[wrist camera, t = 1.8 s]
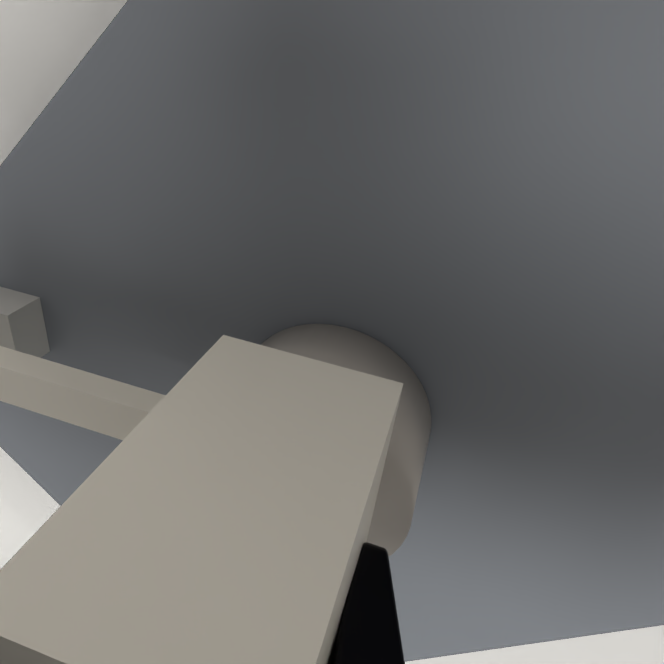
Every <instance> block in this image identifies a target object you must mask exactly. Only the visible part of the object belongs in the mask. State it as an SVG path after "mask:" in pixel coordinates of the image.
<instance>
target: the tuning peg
mask: <svg viewBox="0 0 664 664" xmlns="http://www.w3.org/2000/svg"><path fill="white" fill-rule="evenodd" d="M0 401H2V402H5V403H8V404H11V405H15V406H18V407H21V408H24V409H27V410H30V411H33V412H36V413H39V414H42V415H46V416H49V417H52V418H55V419H58V420H61V421H64V422H67V423H70V424H74V425H77V426H80V427H83V428H86V429H89V430H92V431H95V432H98V433H101V434H105V435H108V436H111V437H114V438H117V439H120V440H123V441H122V442H121V443H120V444H119V445H118V446H117V447H116V448H115V449H114V451H113V452H112V453H111V454H110V455H109V456H108V457H107V458H106V459H105V460H104V461H103V462H102V463H101V464H100V465H99V466H98V467H97V468H96V469H95V471H94V472H93V473H92V474H91V475H90V476H89V477H88V478H87V479H86V480H85V481H84V482H83V483H82V484H81V485H80V486H79V487H78V488H77V490H76V491H75V492H74V493H73V494H72V495H71V496H70V497H69V498H68V499H67V500H66V501H65V502H64V503H63V504H62V505H61V506H60V507H59V508H58V510H57V511H56V512H55V513H54V514H53V515H52V516H51V517H50V518H49V519H48V520H47V521H46V522H45V523H44V524H43V525H42V526H41V527H40V529H39V530H38V531H37V532H36V533H35V534H34V535H33V536H32V537H31V538H30V539H29V540H28V541H27V542H26V543H25V544H24V545H23V546H22V547H21V549H20V550H19V551H18V552H17V553H16V554H15V555H14V556H13V557H12V558H11V559H10V560H9V561H8V562H7V563H6V564H5V565H4V566H3V568H2V569H1V570H0V664H331V660H332V656H333V651H334V647H335V642H336V638H337V633H338V629H339V624H340V620H341V615H342V611H343V608H344V605H345V601H346V598H347V595H348V591H349V588H350V585H351V581H352V578H353V575H354V572H355V568H356V565H357V562H358V558H359V555H360V552H361V549H362V545H363V544H364V543H365V542H368V543H371V544H374V545H377V546H381V547H384V548H385V549H386V550H387V552H388V557H389V556H391V555H392V554H393V553H394V552H395V551H396V550H397V549H398V548H399V547H400V546H401V545H402V543H403V542H404V540H405V538H406V537H407V534H408V532H409V529H410V527H411V522H412V517H413V512H414V508H415V503H416V498H417V493H418V488H419V484H420V479H421V474H422V469H423V465H424V460H425V455H426V450H427V445H428V441H429V436H430V430H431V412H430V405H429V402H428V399H427V395H426V393H425V391H424V389H423V387H422V384H421V383H420V381H419V379H418V378H417V376H416V375H415V373H414V372H413V371H412V369H411V368H410V367H409V366H408V365H407V363H406V362H405V361H404V360H403V359H401V358H400V357H399V356H398V355H397V354H396V353H395V352H394V351H392V350H391V349H390V348H388V347H387V346H386V345H384V344H383V343H381V342H379V341H377V340H376V339H374V338H372V337H370V336H368V335H366V334H363V333H361V332H359V331H356V330H352V329H349V328H346V327H341V326H336V325H329V324H305V325H299V326H294V327H291V328H288V329H285V330H282V331H280V332H278V333H276V334H274V335H272V336H271V337H269V338H268V339H267V340H265V341H264V342H263V343H262V344H261V345H259V344H256V343H252V342H248V341H244V340H241V339H237V338H233V337H230V336H226V335H223V336H222V337H221V338H220V339H219V340H218V341H217V342H216V343H215V344H214V345H213V346H212V347H211V348H210V349H209V350H208V351H207V352H206V354H205V355H204V356H203V357H202V358H201V359H200V360H199V361H198V362H197V363H196V364H195V365H194V366H193V367H192V368H191V369H190V370H189V371H188V372H187V374H186V375H185V376H184V377H183V378H182V379H181V380H180V381H179V382H178V383H177V384H176V385H175V386H174V387H173V388H172V389H171V390H170V391H169V393H168V394H167V395H163V394H159V393H156V392H153V391H149V390H146V389H143V388H139V387H136V386H133V385H129V384H126V383H123V382H119V381H116V380H113V379H109V378H106V377H103V376H99V375H96V374H93V373H89V372H86V371H83V370H79V369H76V368H73V367H69V366H66V365H63V364H59V363H56V362H52V361H49V360H46V359H42V358H39V357H36V356H32V355H29V354H26V353H22V352H19V351H16V350H12V349H9V348H6V347H2V346H0Z"/></svg>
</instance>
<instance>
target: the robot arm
mask: <svg viewBox="0 0 664 664" xmlns="http://www.w3.org/2000/svg"><path fill="white" fill-rule="evenodd" d="M331 664H405V661H404V655H403V648H402V642H401V635H400V628H399V622H398V615H397V609H396V602H395V596H394V589H393V583H392V576H391V570H390V563H389V557H388V552H387V550H386V549H385V548H384V547H381V546H377V545H374V544H371V543H368V542H365V543H364V544H363V545H362V549H361V552H360V555H359V558H358V562H357V565H356V568H355V572H354V575H353V578H352V581H351V585H350V588H349V591H348V595H347V598H346V601H345V605H344V608H343V611H342V615H341V620H340V624H339V629H338V633H337V638H336V642H335V647H334V651H333V656H332V660H331Z"/></svg>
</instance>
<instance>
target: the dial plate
mask: <svg viewBox="0 0 664 664" xmlns="http://www.w3.org/2000/svg"><path fill="white" fill-rule="evenodd" d="M305 324H329V325H336V326H341V327H346V328H349V329H352V330H356V331H359V332H361V333H363V334H366V335H368V336H370V337H372V338H374V339H376V340H377V341H379V342H381V343H383V344H384V345H386V346H387V347H388V348H390V349H391V350H392V351H394V352H395V353H396V354H397V355H398V356H399V357H400V358H401V359H403V360H404V361H405V362H406V363H407V365H408V366H409V367H410V368H411V369H412V371H413V372H414V373H415V375H416V376H417V378H418V379H419V381H420V383H421V384H422V387H423V389H424V391H425V393H426V395H427V399H428V402H429V405H430V412H431V430H430V436H429V441H428V445H427V450H426V455H425V460H424V465H423V469H422V474H421V479H420V484H419V488H418V493H417V498H416V503H415V508H414V512H413V517H412V522H411V527H410V529H409V532H408V534H407V537H406V538H405V540H404V542H403V543H402V545H401V546H400V547H399V548H398V549H397V550H396V551H395V552H394V553H393V554H392V555H391V556H389V563H390V570H391V576H392V583H393V589H394V596H395V602H396V609H397V615H398V622H399V628H400V635H401V642H402V648H403V655H404V661H405V662H406V661H413V660H420V659H427V658H434V657H441V656H448V655H455V654H462V653H469V652H476V651H483V650H490V649H497V648H504V647H511V646H518V645H525V644H532V643H539V642H547V641H554V640H561V639H568V638H575V637H582V636H589V635H596V634H603V633H610V632H617V631H624V630H631V629H638V628H645V627H652V626H659V625H664V0H128V1H127V2H126V4H125V5H124V6H123V8H122V9H121V10H120V11H119V13H118V14H117V15H116V17H115V18H114V19H113V21H112V22H111V23H110V24H109V26H108V27H107V28H106V30H105V31H104V32H103V34H102V35H101V36H100V37H99V39H98V40H97V41H96V43H95V44H94V45H93V46H92V48H91V49H90V50H89V52H88V53H87V54H86V56H85V57H84V58H83V59H82V61H81V62H80V63H79V65H78V66H77V67H76V69H75V70H74V71H73V72H72V74H71V75H70V76H69V78H68V79H67V80H66V82H65V83H64V84H63V85H62V87H61V88H60V89H59V91H58V92H57V93H56V94H55V96H54V97H53V98H52V100H51V101H50V102H49V104H48V105H47V106H46V107H45V109H44V110H43V111H42V113H41V114H40V115H39V117H38V118H37V119H36V120H35V122H34V123H33V124H32V126H31V127H30V128H29V129H28V131H27V132H26V133H25V135H24V136H23V137H22V139H21V140H20V141H19V142H18V144H17V145H16V146H15V148H14V149H13V150H12V152H11V153H10V154H9V155H8V157H7V158H6V159H5V161H4V162H3V163H2V165H1V166H0V346H2V347H6V348H9V349H12V350H16V351H19V352H22V353H26V354H29V355H32V356H36V357H39V358H42V359H46V360H49V361H52V362H56V363H59V364H63V365H66V366H69V367H73V368H76V369H79V370H83V371H86V372H89V373H93V374H96V375H99V376H103V377H106V378H109V379H113V380H116V381H119V382H123V383H126V384H129V385H133V386H136V387H139V388H143V389H146V390H149V391H153V392H156V393H159V394H163V395H167V394H168V393H169V391H170V390H171V389H172V388H173V387H174V386H175V385H176V384H177V383H178V382H179V381H180V380H181V379H182V378H183V377H184V376H185V375H186V374H187V372H188V371H189V370H190V369H191V368H192V367H193V366H194V365H195V364H196V363H197V362H198V361H199V360H200V359H201V358H202V357H203V356H204V355H205V354H206V352H207V351H208V350H209V349H210V348H211V347H212V346H213V345H214V344H215V343H216V342H217V341H218V340H219V339H220V338H221V337H222V336H223V335H226V336H230V337H233V338H237V339H241V340H244V341H248V342H252V343H256V344H259V345H261V344H262V343H263V342H264V341H265V340H267V339H268V338H269V337H271V336H272V335H274V334H276V333H278V332H280V331H282V330H285V329H288V328H291V327H294V326H299V325H305ZM122 441H123V440H120V439H117V438H114V437H111V436H108V435H105V434H101V433H98V432H95V431H92V430H89V429H86V428H83V427H80V426H77V425H74V424H70V423H67V422H64V421H61V420H58V419H55V418H52V417H49V416H46V415H42V414H39V413H36V412H33V411H30V410H27V409H24V408H21V407H18V406H15V405H11V404H8V403H5V402H2V401H0V447H1V448H2V449H3V450H4V451H5V452H6V453H7V454H8V455H9V456H10V457H11V458H12V459H13V460H14V461H16V462H17V463H18V464H19V465H20V466H21V467H22V468H23V469H24V470H25V471H26V472H27V473H28V474H29V475H30V476H31V477H32V478H33V479H34V480H35V481H36V482H37V483H38V484H39V485H40V486H41V487H42V488H43V489H44V490H45V491H46V492H47V493H48V494H49V495H50V496H51V497H52V498H53V499H54V500H55V501H56V502H57V503H58V504H59V505H62V504H63V503H64V502H65V501H66V500H67V499H68V498H69V497H70V496H71V495H72V494H73V493H74V492H75V491H76V490H77V488H78V487H79V486H80V485H81V484H82V483H83V482H84V481H85V480H86V479H87V478H88V477H89V476H90V475H91V474H92V473H93V472H94V471H95V469H96V468H97V467H98V466H99V465H100V464H101V463H102V462H103V461H104V460H105V459H106V458H107V457H108V456H109V455H110V454H111V453H112V452H113V451H114V449H115V448H116V447H117V446H118V445H119V444H120V443H121V442H122Z"/></svg>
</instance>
